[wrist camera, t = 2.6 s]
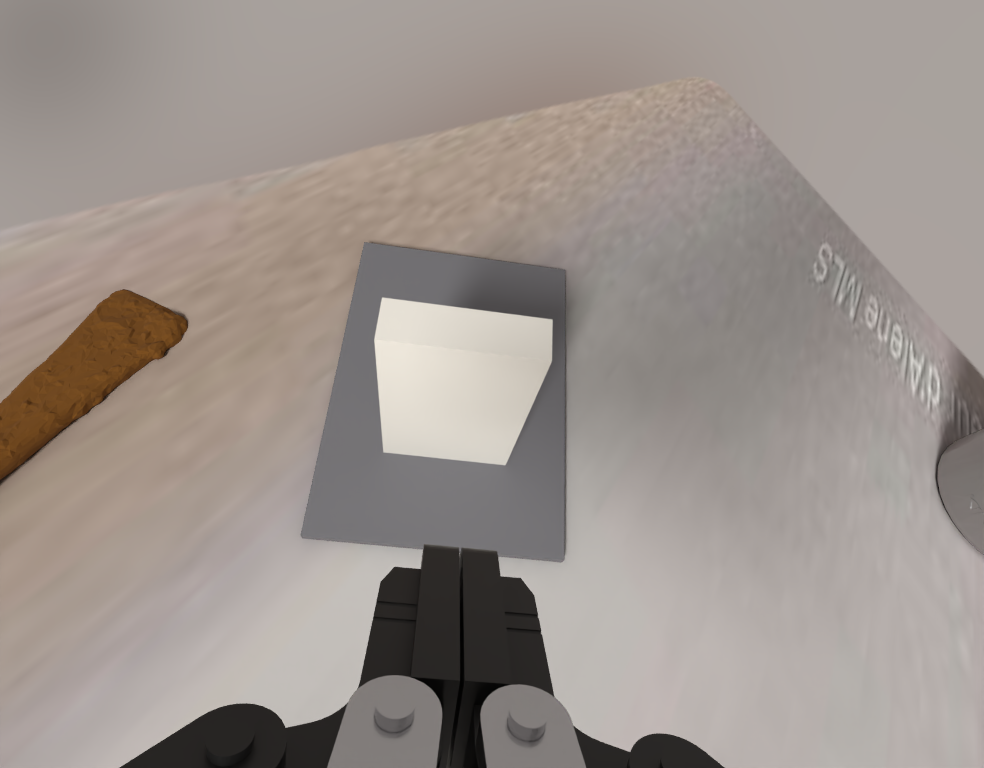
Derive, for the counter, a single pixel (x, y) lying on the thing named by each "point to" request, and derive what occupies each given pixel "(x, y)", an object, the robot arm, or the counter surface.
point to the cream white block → (457, 379)
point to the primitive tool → (84, 372)
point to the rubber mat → (434, 481)
